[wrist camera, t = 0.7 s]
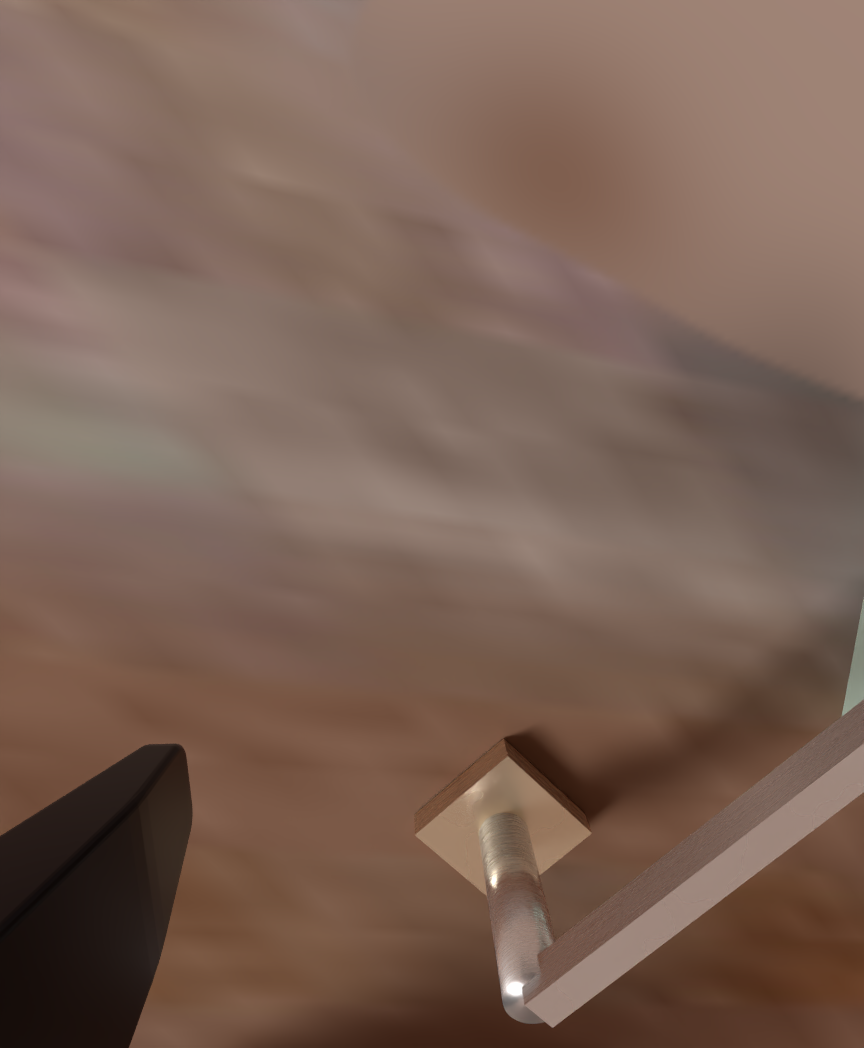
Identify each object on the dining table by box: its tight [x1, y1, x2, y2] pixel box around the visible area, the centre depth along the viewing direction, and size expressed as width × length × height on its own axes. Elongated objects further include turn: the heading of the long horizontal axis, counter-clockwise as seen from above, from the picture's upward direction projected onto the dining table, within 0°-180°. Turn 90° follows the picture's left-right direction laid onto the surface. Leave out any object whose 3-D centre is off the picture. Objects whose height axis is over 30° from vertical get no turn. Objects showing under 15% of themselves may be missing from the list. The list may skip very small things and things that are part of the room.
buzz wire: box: [414, 700, 864, 1028], centre depth 21 cm, size 5×25×9 cm, turn 115°
